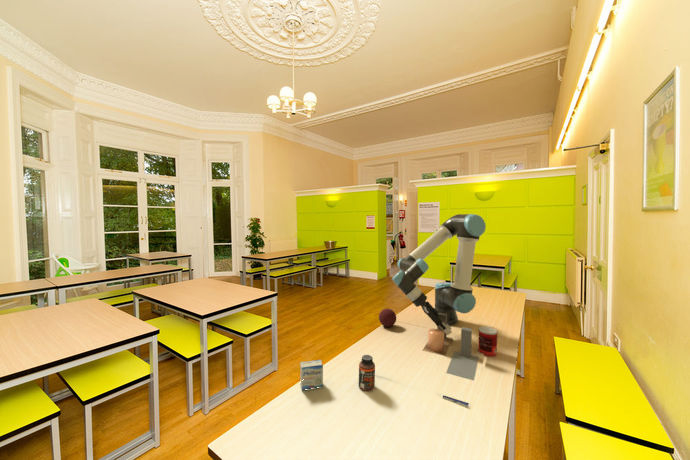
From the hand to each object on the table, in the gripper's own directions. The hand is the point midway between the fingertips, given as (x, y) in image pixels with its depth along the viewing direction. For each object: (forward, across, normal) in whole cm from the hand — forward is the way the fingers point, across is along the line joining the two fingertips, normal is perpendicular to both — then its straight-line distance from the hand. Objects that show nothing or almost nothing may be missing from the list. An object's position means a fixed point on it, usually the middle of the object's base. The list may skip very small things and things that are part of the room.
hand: (449, 331), depth 142 cm
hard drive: (+5, +44, -4) cm, 44 cm away
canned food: (+15, +8, +8) cm, 19 cm away
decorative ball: (-20, -9, -27) cm, 34 cm away
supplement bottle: (-19, +50, -26) cm, 60 cm away
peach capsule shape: (-2, +14, -7) cm, 16 cm away
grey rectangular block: (+6, +25, 0) cm, 25 cm away
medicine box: (-32, +56, -40) cm, 76 cm away
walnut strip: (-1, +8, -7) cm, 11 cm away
